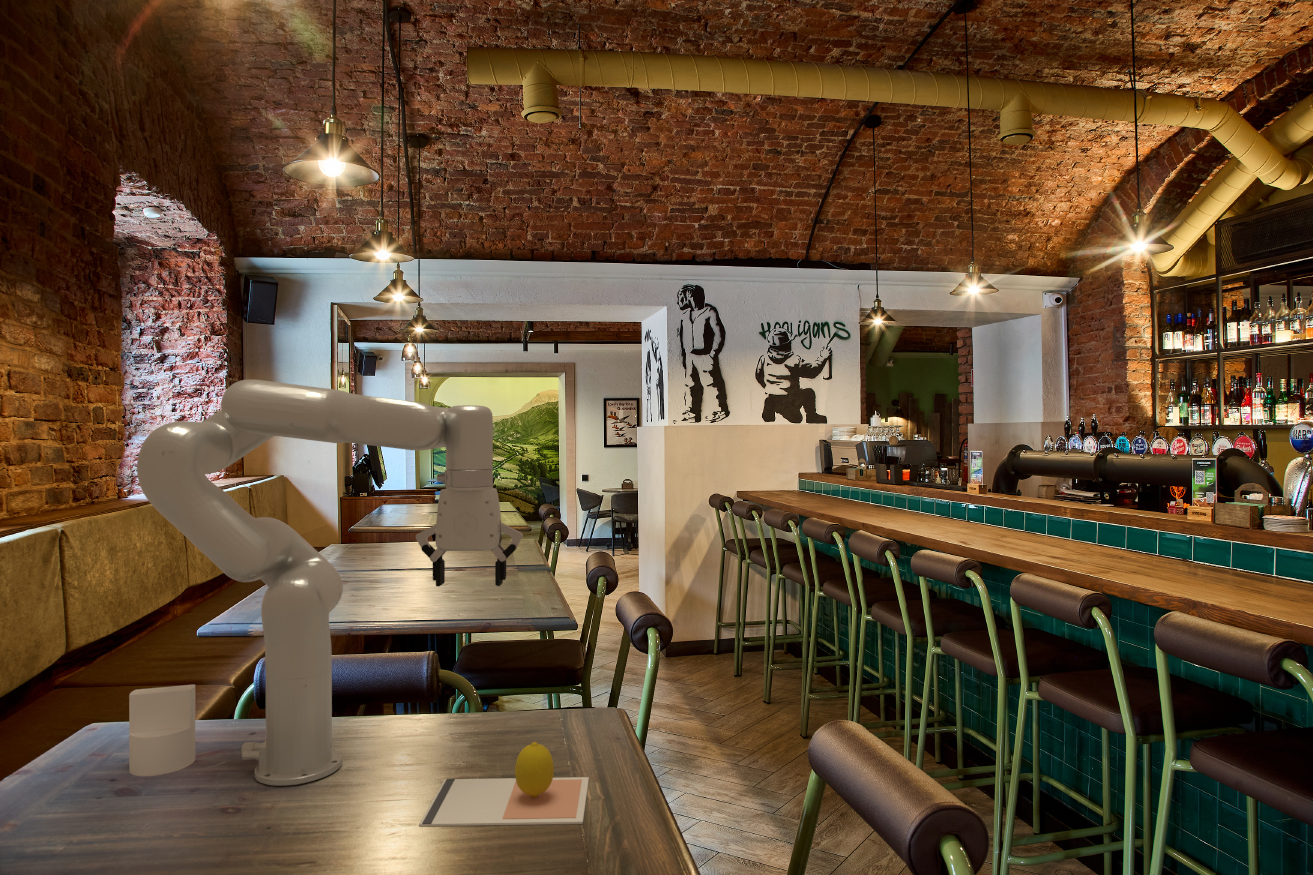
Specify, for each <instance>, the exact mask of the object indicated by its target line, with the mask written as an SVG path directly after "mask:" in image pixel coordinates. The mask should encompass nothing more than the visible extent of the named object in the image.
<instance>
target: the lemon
mask: <svg viewBox="0 0 1313 875" xmlns="http://www.w3.org/2000/svg"><path fill="white" fill-rule="evenodd" d="M514 767H515V768H514V778H516V782H517V785H518V787H519V788H520V790H521V791H522V792H524V793H525V794H527V795H530V796H531V797H532V798H537V796H538V795H539V794H542V793H543V792H545V791H546V790H547V789H548V788H549V786H550V784H551V782H552V779H553V778H554V774H555V768H554V761H553V756H552V753H551V752H550V750H549V749H548V748H547V747H545V745H543V744H539V743H538V742H536V741H533V742H531V744H528V745H526V746H525V747H524V748H522V749H521V751H520V752H519V754H518V755H517V758H516V762H515V766H514Z"/></svg>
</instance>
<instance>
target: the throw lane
mask: <svg viewBox="0 0 1313 875" xmlns="http://www.w3.org/2000/svg"><path fill="white" fill-rule="evenodd" d="M589 781H590V777H589V776H582V777H581V776H578V777H577V776H575V777H570V776H569V777H567V776H566V777H553V779H552V782H551V784H550V786H549V788H548V789H547V790H546V791H545V792H543V793H542V794H539V795H538V796H537V798H532V797H531V796H530V795H527V794H525V793H524V792H522V791H521V790H520V788H519V787H518V785H517V782H516V778H515V777H513V778H509V777H508V778H507V777H505V778H501V777H500V778H446V779H445V778H444V779H443V781H442V783H441V784H440V787H439V789H438V790H437V792H436V793H435V795H434V797H433V799H432V801H431V802H430V804H429V806H428V807H427V809H426V812H425V813H424V815H423V817H422V819H421V820H420V822H419V823H418V826H419V827H458V826H459V827H466V826H468V827H469V826H472V827H473V826H519V825H520V826H522V825H523V826H525V825H527V826H528V825H532V826H533V825H538V826H539V825H583V824H584V817H585V810H586V802H587V795H588V788H589Z"/></svg>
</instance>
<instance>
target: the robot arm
mask: <svg viewBox="0 0 1313 875" xmlns="http://www.w3.org/2000/svg"><path fill="white" fill-rule="evenodd" d="M220 402H221V403H220V410H218V411H217V412H215V413H214V414H212V415H210V416H209V417H207V418H205V419H203V421H191V420H190V421H186V420H185V421H184V420H183V421H173V422H168V423H165V424H163V425H161V426H159V427H157V428H155V429H154V430H153V431H151V433H150V434H149V435H148V436H147V437H146V438H145V439H144V441H143V442H142V445H141V447H140V449H139V453H138V455H137V456H138V457H137V462H136V473H137V474H136V476H137V479H138V484H139V486H140V488H141V490H142V493H143V494H144V496H145V498H146V499H147V501H148V502H149V504H150V505H151V506H152V507H153V508H154V509H155V510H156V511H157V512H158V513H159V515H161V516H162V517H163V518H164V519H166V520H167V521H168V522H169V523H170V524H171V525H172V526H173V527H175V528H176V529H177V530H178V531H179V532H180V533H181V534H182V535H183V536H185V538H186V539H188V541H189V542H190V543H191V544H192V545H194V546H195V547H196V548H197V550H199V551H200V552H201V553H202V554H203V555H204V556H206V558H208V559H209V560H210V561H211V562H212V563H213V564H214V565H215V566H216V567H217V568H218V569H219V571H221V572H222V573H223V574H225V576H227V577H228V578H230V579H232V580H234V581H236V582H239V583H252V582H255V581H259V580H261V582H263V583H264V584H265V585H266V586H267V587H268V588H267V589H266V591H265V592H264V596H263V597H262V601H261V612H260V613H261V623H262V624H261V626H262V630H263V632H262V633H263V640H264V652H265V653H264V656H265V663H264V664H265V740H263V742H257V741H255V742H248V741H247V742H244V743H243V744H242V745H241V751H240V753H241V760H242V761H252V760H256V761H257V762H258V764H257V765H256V766H255V768H254V778H255V780H256V781H258V782H259V783H261V784H264V785H269V786H275V787H278V786H279V787H280V786H281V787H283V786H284V787H285V786H287V787H288V786H296V785H301V784H305V783H306V784H307V783H311V782H314V781H316V780H321V779H323V778H325V777H327V776H331V775H332V774H333V773H335V772H336V771H338V769H340V767H341V766H342V764H343V754H342V753H341V752H340V751H339V750H337V749H335V748H333V746H332V744H333V741H332V740H333V738H332V736H333V733H332V730H333V729H332V728H333V724H332V723H333V721H332V720H333V719H332V718H333V716H332V714H333V707H332V706H333V704H332V701H333V700H332V699H333V698H332V696H333V692H332V691H333V689H332V688H333V687H332V686H333V685H332V682H333V681H332V679H333V678H332V677H333V676H332V675H333V674H332V673H333V671H332V669H333V666H332V664H333V663H332V639H331V638H332V637H331V631H330V630H331V629H330V613H331V612H332V611H333V610H334V609H335V608H336V607H337V605H338V604H339V602H340V601H341V599H342V595H343V590H344V586H343V580H342V577H341V574H339V572H338V570H337V569H336V568H335V567H334V565H333V564H331V563H330V562H329V561H328V559H326V558H325V557H324V556H323V555H322V554H321V553H320V552H319V551H318V550H317V549H315V547H313V546H312V545H311V543H309V542H308V541H307V540H306V539H305V538H303V536H301V534H299V533H298V531H296V530H295V528H293V527H291V526H290V525H288V524H287V523H285V522H283V521H282V520H279V519H277V518H274V517H270V516H260V517H254V516H253V515H251V514H250V513H249V512H248V511H247V510H245V509H244V507H242V506H241V505H240V504H238V503H237V502H236V500H234V499H233V497H232V495H230V494H228V493H227V492H226V491H224V490H223V489H222V488H221V487H220V486H217V485H216V484H215V483H214V482H212V481H211V480H210V479H209V478H208V477H207V475H210V474H214V473H217V472H218V473H219V472H220V471H222V470H225V469H226V468H228V467H229V466H231V465H233V464H235V463H236V462H237V461H239V460H241V459H242V458H243V457H245V456H246V455H248V454H249V453H251V452H252V451H255V449H257V448H258V447H260V446H261V445H263V444H265V443H266V442H268V441H269V440H271V439H272V438H273V437H283V438H290V439H291V438H292V439H299V440H308V441H315V442H324V443H331V444H343V443H344V444H345V443H347V444H357V445H364V446H365V445H366V446H375V447H382V448H391V449H400V450H408V451H417V452H419V451H428V450H435V449H441V448H445V470H444V471H443V472H442V473H437V474H436V481H437V482H438V483H442V484H443V485H444V486H445V488H443V489H440V492H439V495H438V503H437V510H436V524H434V525H432V526H430V527H428V528H427V529H424V530H422V531H421V532H419V533H417V534H416V535H415V539H416V541H417V543H418V546H419V547H420V549H421V551H422V552H423V553H424V554H425V555H426V556H427V557H428V559H429V560H430V562H432V580H433V581H435V587H441V586H443V585H444V584H445V583H446V582H445V580H446V575H445V574H446V572H445V568H446V564H445V563H446V562H445V560H444V559H443V556H444V555H445V553H446V552H484V551H485V552H486V551H487V552H488V551H490V552H492V553H493V554H494V556H495V557H496V558H497V559H496V560H497V561H495V563H494V564H495V565H494V566H495V567H494V574H495V577H494V578H495V579H494V581H495V586H496V587H501V586H502V585H503V583H504V581H505V580H506V579H507V559H508V558H509V557H511V555H512V554H513V553H514V552H515V551H516V550H517V549H518V546H519V544H520V543H521V541H522V538H523V536H524V534H523V533H522V532H521V531H519V530H517V529H515V528H513V527H511V526H509V525H508V524H505V523H503V522H502V516H501V506H500V499H499V494H498V490H497V488H494V486H493V484H494V477H493V476H494V474H493V473H494V472H493V471H494V468H493V467H494V464H493V463H494V454H493V452H494V445H493V444H494V443H493V442H494V439H493V438H494V437H493V436H494V434H493V433H494V424H493V423H494V421H493V420H494V419H493V413H492V412H493V411H492V410H491V409H490V407H488V406H483V405H470V404H469V405H453V406H451V407H442V406H435V405H434V406H433V405H430V404H427V403H424V402H418V401H411V400H410V401H409V400H403V399H394V398H387V397H377V396H370V395H363V394H358V393H357V394H356V393H350V392H347V391H344V390H340V389H334V388H328V387H327V388H325V387H318V386H310V385H302V384H294V383H285V382H279V381H278V382H277V381H271V380H270V381H269V380H263V379H254V378H253V379H252V378H251V379H242V380H237V381H236V382H234V383H233V384H231V385H230V386H229V387H228V388H227V389H226V390H225V391H224V393H223V394H222V397H221V400H220ZM503 534H504V535H506V536H509V537H510V538H511V541H510V543H509V545H508V546H507V547H506V548H504V547H503V546H502V545H501V544H502V537H503ZM433 535H435V546H436V549H435V548H434V547H433V546H432V545H431V544H430V543H429V542H430V541H429V540H428V538H429V537H430V536H433Z"/></svg>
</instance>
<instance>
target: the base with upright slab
mask: <svg viewBox="0 0 1313 875" xmlns="http://www.w3.org/2000/svg"><path fill="white" fill-rule="evenodd" d="M128 698H129V699H128V700H129V701H128V703H129V704H128V705H129V708H128V709H129V710H128V711H129V712H128V713H129V715H128V716H129V718H128V720H129V724H128V726H129V728H128V729H129V733H128V734H129V736H128V737H129V741H128V742H129V746H128V749H129V758H128V760H129V762H128V763H129V765H128V766H129V768H128V769H129V770H128V771H129V774H131V775H133V776H136V777H137V776H138V777H155V776H161V775H166V774H169V773H173V772H177V771H179V770H182V769H184V768H185V769H186V767H188V766H190V765H192V764H193V763H194V762H195V760H196V684H187V685H186V684H184V685H173V686H163V687H162V686H161V687H151V688H149V687H148V688H140V689H134V690H133V691H131V692H130V693H129V695H128Z"/></svg>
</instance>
